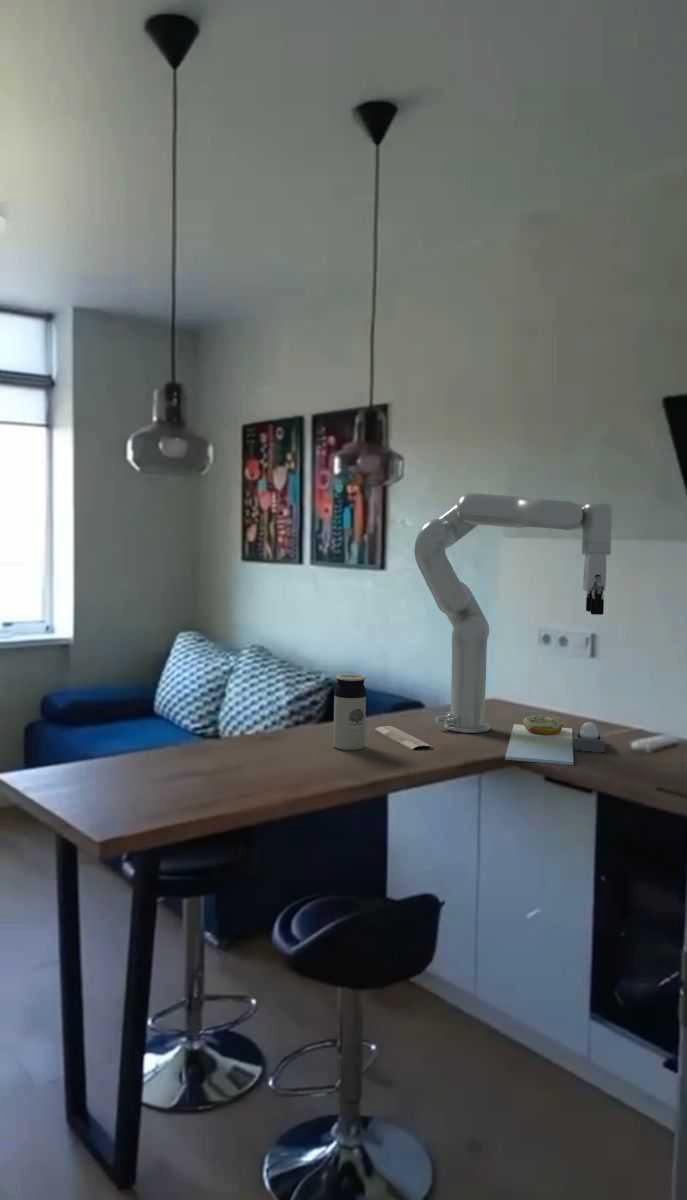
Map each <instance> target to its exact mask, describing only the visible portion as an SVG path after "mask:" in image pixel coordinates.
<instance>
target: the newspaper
mask: <svg viewBox="0 0 687 1200" xmlns="http://www.w3.org/2000/svg"><path fill="white" fill-rule="evenodd" d="M374 731H375V732H377V733H379V734H381V735H383V736H385V737H386V738H388V739H391V740H392V741H394V742H396V743H398V744H399V745H401V746H404V747H405V748H407V749H409V750H410V751H414V749H415V748H418V747H427V748H428V749H435V748H434V746H432V745H430V744H428V743H426V742H424V741H423V740H420V739H418V738H417V737H415V736H413V735H410V734H409V733H406V732H405V731H403V730H401V729H399V728H396V727H395V726H391V725H382V726H378V727H376V728H375V729H374Z"/></svg>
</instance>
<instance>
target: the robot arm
mask: <svg viewBox="0 0 687 1200" xmlns="http://www.w3.org/2000/svg"><path fill="white" fill-rule="evenodd" d="M612 518H613V507H612V505H611V504H610V503H606V502H590V503H586V504H581V503H576V502H573V501H569V500H568V501H567V500H557V499H556V500H555V499H542V498H540V499H539V498H530V497H523V496H517V495H516V496H515V495H503V494H490V493H477V492H472V493H470V492H469V493H466V494H464V495H462V496H461V497H460V498H459V500H458V501H457V504H456V505H455V506H454V507H452V508H451V509H450V510H449V511H447V512H446V513H445V514H443V515H441V516H440V517H439V518H433V519H431V520H429V521H427V522H426V523H425V524H424V525H423V526H422V527H421V529H420V531H419V532H418V534H417V536H416V539H415V543H414V559H415V563H416V565H417V567H418V569H419V571H420V573H421V575H422V577H423V579H424V581H425V583H426V586H427V587H428V589H429V591H430V594H431V595H432V596H433V597H432V598H433V599H434V601H435V603H436V606H437V608H438V609H439V611H441V612H442V614H445V615H446V616H447V618H448V620H449V622H450V624H451V626H452V633H451V681H450V682H451V684H450V685H451V687H450V688H451V689H450V711H446V714H445V715H437V716H434V717H435V718H434V721H435V723H436V724H442V723H443V724H444V725H443V726H444V729H446V730H449V731H452V732H456V733H457V732H459V733H469V734H471V733H472V734H475V733H476V734H478V733H485V732H488V731H490V728H491V725H490V724H489V723H486V722H485V715H486V714H485V713H486V712H485V711H486V710H485V709H486V708H485V707H486V685H487V650H488V648H487V647H488V638H489V635H490V626H489V622H488V620H487V618H486V616H485V615H484V613H483V611H482V609H481V608H480V607H481V606H480V605H479V603H478V601H477V600H476V598H475V595H474V593H473V592H472V591H471V589H470V587H469V586H468V584H465V583H464V582H462V581H460V579H459V576H458V575H457V573H456V572H455V570H454V567H453V566H452V564H451V562H450V560H449V558H448V556H447V554H446V549H448V548H450V547H452V546H453V545H455V543H457V542H458V541H459V540H461V539H462V538H463V537H465V536H466V535H468V534H469V533H470V532H471V531H472V530H474V529H475V528H477V527H478V526H480V525H482V526H492V527H503V528H504V527H505V528H516V529H517V528H518V529H521V528H522V529H523V528H542V529H555V530H561V531H562V530H563V531H574V530H581V531H582V534H581V537H582V538H581V555H584V563H583V578H582V590H583V591H585V592H586V598H585V599H586V601H585V611H586V612H590V615H604V606H605V602H604V601H605V600H604V592H605V591H606V585H607V556H611V554H612V553H611V552H612V523H613V522H612V521H613V519H612Z"/></svg>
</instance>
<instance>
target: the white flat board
mask: <svg viewBox="0 0 687 1200" xmlns="http://www.w3.org/2000/svg"><path fill="white" fill-rule="evenodd" d="M504 760H506V761H515V762H516V761H518V762H531V763H541V764H542V763H544V764H554V765H555V764H556V765H565V766H566V765H567V766H574V750H573V728H569V727H562V730H561V731H560V732H559V733H557V734H547V735H545V734H538V733H532V732H531V731H528V730H527V729H526V728H525V725H524V724H518V723H517V724H515V723H514V724H513V726H512V730H511V734H510V737H509V742H508V745H507V749H506V753H505V757H504Z"/></svg>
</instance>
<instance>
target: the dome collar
mask: <svg viewBox="0 0 687 1200" xmlns="http://www.w3.org/2000/svg"><path fill="white" fill-rule="evenodd" d="M572 740H573V751H576V750H582V751H581V752H588V751H592V753H601V752H604V753H605V746H606V740H605V735H604V734H600V733H598V740H595V739H582V738H580V732H573V735H572Z"/></svg>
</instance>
